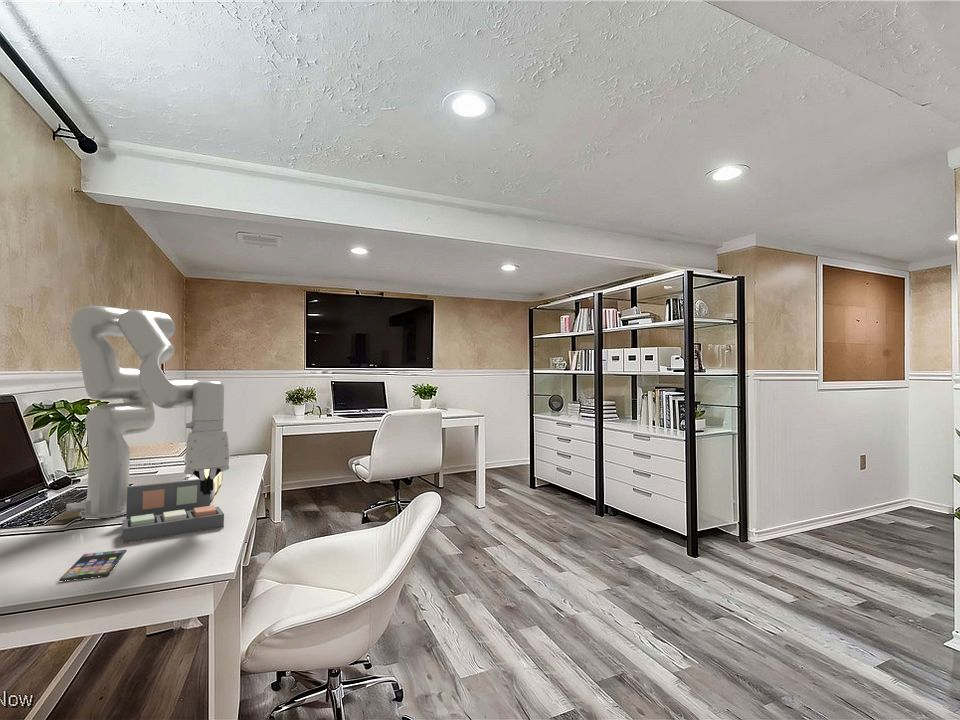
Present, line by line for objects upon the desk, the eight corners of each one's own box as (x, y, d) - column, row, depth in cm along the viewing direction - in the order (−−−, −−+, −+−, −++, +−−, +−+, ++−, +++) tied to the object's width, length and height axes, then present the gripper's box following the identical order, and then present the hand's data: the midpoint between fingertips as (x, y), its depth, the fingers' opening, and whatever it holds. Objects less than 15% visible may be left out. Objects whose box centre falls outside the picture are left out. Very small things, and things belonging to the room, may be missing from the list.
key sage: (131, 531, 120) (131, 521, 120) (130, 526, 124) (130, 516, 124) (154, 528, 123) (154, 518, 123) (152, 523, 127) (153, 513, 127)
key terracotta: (195, 522, 129) (196, 512, 129) (193, 517, 132) (193, 508, 132) (216, 518, 132) (216, 509, 132) (213, 514, 135) (213, 505, 135)
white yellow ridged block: (190, 486, 172) (191, 450, 173) (222, 484, 176) (223, 448, 176) (174, 506, 149) (175, 464, 149) (212, 503, 153) (213, 462, 153)
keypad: (122, 543, 118) (124, 502, 118) (121, 522, 133) (122, 486, 133) (223, 526, 131) (224, 490, 131) (212, 509, 146) (213, 476, 146)
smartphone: (126, 552, 114) (126, 547, 114) (108, 578, 100) (108, 572, 100) (83, 557, 110) (83, 551, 110) (59, 584, 97) (59, 578, 97)
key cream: (164, 526, 124) (164, 517, 124) (162, 521, 128) (163, 512, 128) (186, 523, 127) (186, 513, 127) (184, 518, 131) (184, 509, 131)
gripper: (177, 429, 125) (175, 501, 124) (240, 426, 134) (239, 492, 134) (174, 426, 131) (172, 494, 130) (235, 423, 140) (233, 487, 140)
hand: (206, 493), depth 132 cm, fingers closed
